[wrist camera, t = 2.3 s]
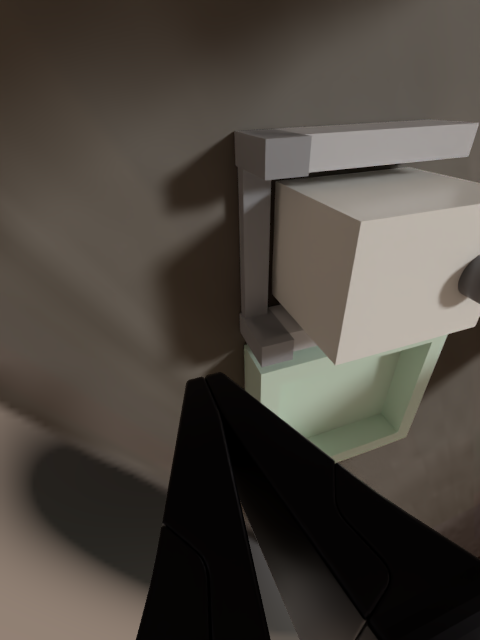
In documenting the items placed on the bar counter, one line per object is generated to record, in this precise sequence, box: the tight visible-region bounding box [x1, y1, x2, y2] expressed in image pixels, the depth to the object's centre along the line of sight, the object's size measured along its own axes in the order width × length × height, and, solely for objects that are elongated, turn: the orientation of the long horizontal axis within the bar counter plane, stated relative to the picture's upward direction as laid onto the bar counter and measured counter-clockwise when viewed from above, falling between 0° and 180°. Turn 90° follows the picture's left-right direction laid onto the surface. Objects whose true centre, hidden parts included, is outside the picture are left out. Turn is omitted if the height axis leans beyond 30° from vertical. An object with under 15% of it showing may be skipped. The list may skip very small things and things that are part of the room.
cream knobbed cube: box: [272, 167, 480, 365], centre depth 14 cm, size 7×6×7 cm
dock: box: [234, 119, 479, 367], centre depth 15 cm, size 9×9×3 cm
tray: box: [244, 334, 448, 463], centre depth 22 cm, size 12×11×2 cm
